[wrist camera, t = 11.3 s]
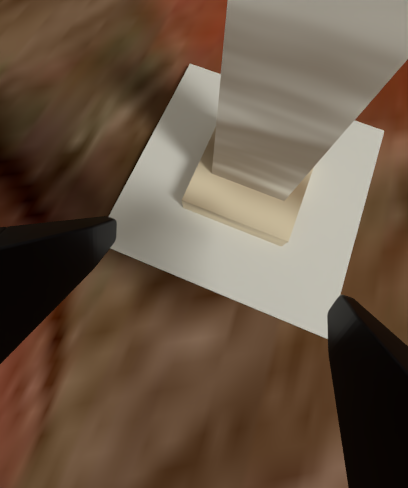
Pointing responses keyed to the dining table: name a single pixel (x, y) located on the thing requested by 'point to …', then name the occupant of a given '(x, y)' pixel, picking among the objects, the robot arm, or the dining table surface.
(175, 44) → the dining table surface
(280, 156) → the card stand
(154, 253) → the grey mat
